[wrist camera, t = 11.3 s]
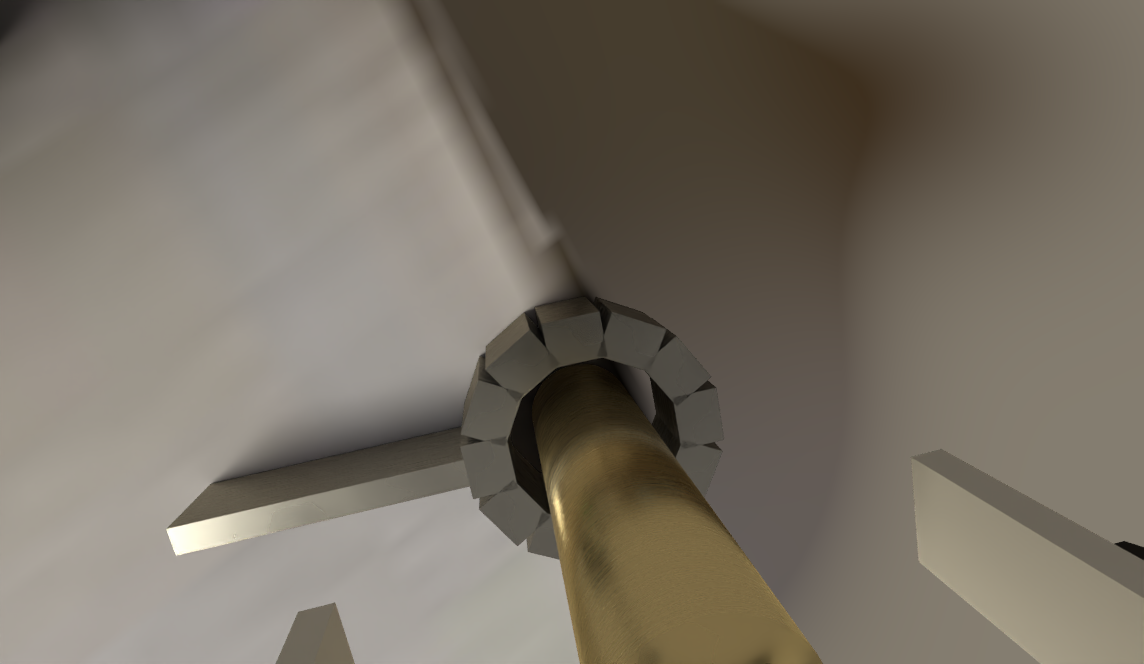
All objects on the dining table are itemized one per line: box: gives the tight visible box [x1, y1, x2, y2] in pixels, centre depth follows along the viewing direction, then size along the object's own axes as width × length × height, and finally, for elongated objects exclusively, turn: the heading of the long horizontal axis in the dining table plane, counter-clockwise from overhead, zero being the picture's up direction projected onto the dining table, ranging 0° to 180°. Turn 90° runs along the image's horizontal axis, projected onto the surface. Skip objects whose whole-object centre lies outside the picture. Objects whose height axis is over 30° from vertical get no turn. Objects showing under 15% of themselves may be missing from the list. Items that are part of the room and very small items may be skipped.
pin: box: [532, 364, 823, 664], centre depth 18 cm, size 4×4×16 cm
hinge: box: [166, 296, 724, 560], centre depth 25 cm, size 19×19×4 cm
